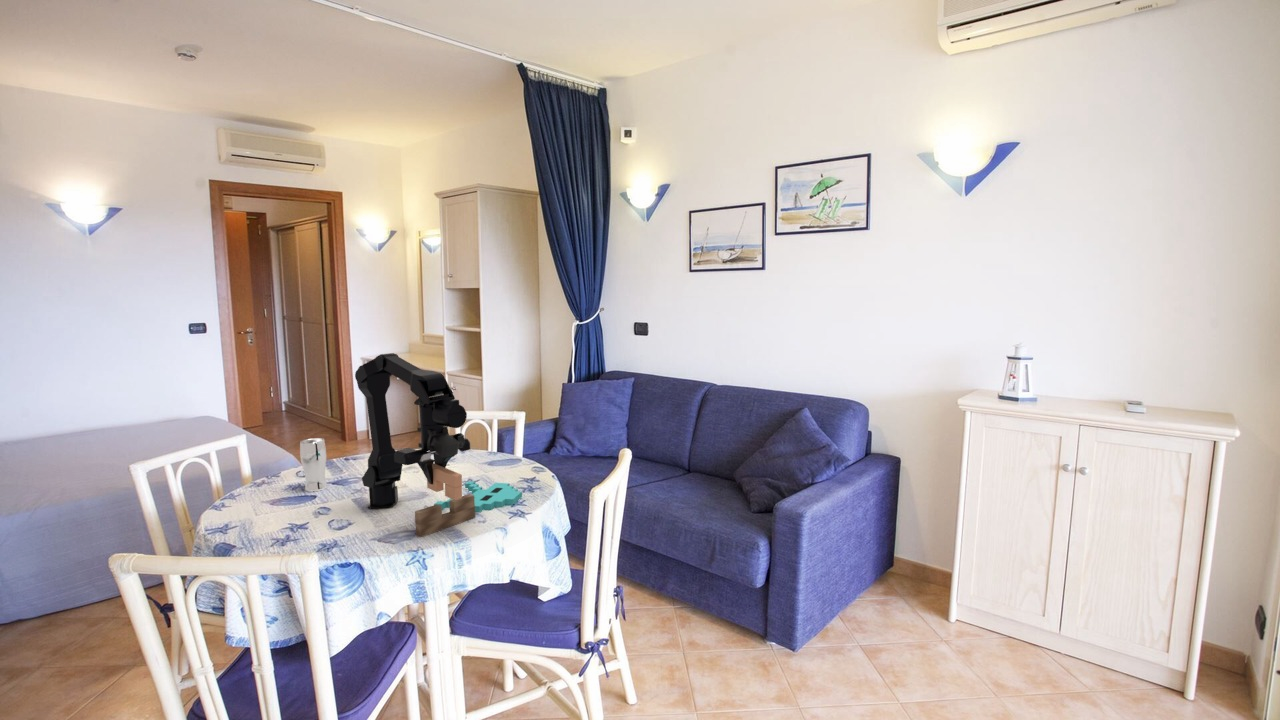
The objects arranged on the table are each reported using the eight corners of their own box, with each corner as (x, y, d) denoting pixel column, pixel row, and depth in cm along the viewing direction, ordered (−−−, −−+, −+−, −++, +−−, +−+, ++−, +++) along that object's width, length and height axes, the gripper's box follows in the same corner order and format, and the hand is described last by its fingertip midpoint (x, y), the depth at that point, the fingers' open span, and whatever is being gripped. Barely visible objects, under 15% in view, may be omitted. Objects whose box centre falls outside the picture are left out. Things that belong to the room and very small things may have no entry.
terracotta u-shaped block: (461, 498, 155) (461, 474, 154) (455, 500, 153) (454, 476, 152) (434, 485, 162) (433, 463, 161) (427, 487, 161) (426, 465, 160)
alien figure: (434, 511, 171) (503, 515, 167) (434, 503, 170) (502, 507, 166) (468, 488, 190) (530, 491, 186) (468, 481, 190) (530, 484, 186)
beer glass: (297, 491, 188) (293, 442, 186) (314, 484, 195) (311, 437, 193) (317, 493, 186) (313, 443, 185) (334, 485, 193) (330, 438, 191)
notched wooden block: (420, 537, 152) (419, 513, 151) (416, 535, 153) (414, 511, 153) (475, 517, 164) (474, 495, 164) (470, 515, 166) (469, 493, 165)
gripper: (416, 434, 146) (420, 499, 148) (482, 420, 160) (484, 479, 162) (391, 428, 153) (394, 490, 155) (456, 415, 167) (459, 472, 169)
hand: (435, 482), depth 160 cm, fingers closed on terracotta u-shaped block, 2 cm apart
